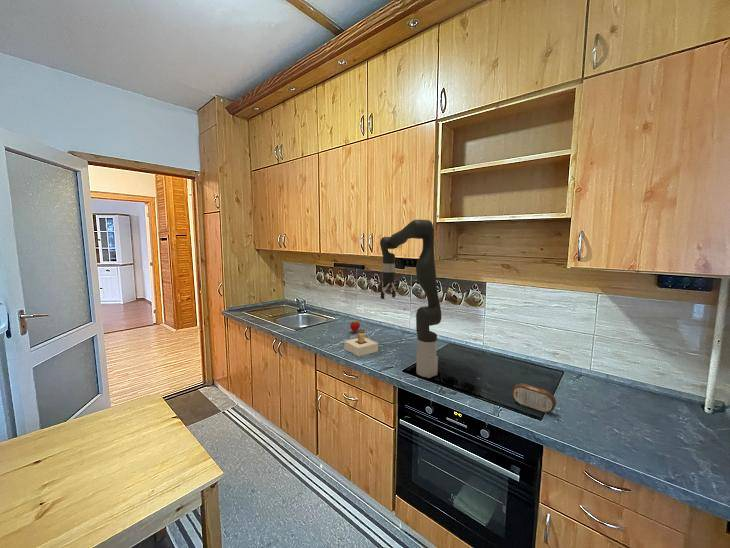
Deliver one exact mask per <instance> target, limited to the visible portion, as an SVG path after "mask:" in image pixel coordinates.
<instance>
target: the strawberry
mask: <svg viewBox="0 0 730 548" xmlns="http://www.w3.org/2000/svg"><path fill="white" fill-rule="evenodd" d="M349 326H350V329H351V331H352V332H353V333H357V332H358V330H360V328H361V327H360V326H361V323H360V322H359V321H358V320H352V321H351V323H350V324H349Z"/></svg>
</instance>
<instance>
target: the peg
mask: <svg viewBox="0 0 730 548" xmlns="http://www.w3.org/2000/svg"><path fill="white" fill-rule="evenodd" d="M365 333H366V331H365V329H363V328H362V329H360V328H359V329H358V330H357V338H358V344H364V343H365V336H366V335H365Z"/></svg>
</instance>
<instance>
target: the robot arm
mask: <svg viewBox="0 0 730 548" xmlns="http://www.w3.org/2000/svg"><path fill="white" fill-rule="evenodd" d="M434 233H435V231H434V225H433V222H432V221H431V220H430V219H413V220H411V221H410V222H409V223H408V224H407V225H406V226H404V227H403V228H402V229H401V230H399V231H397V232H395V233H393V234H391V236H383V237H381V239H380V241H379V245H380V249H381V254H382V269H381V271H382V272H381V273H382V277H381V278H382V281H378V283H377V292H378V293H380V299H381V300H384V299H385V292H386V290H387V289H391V298H392V299H393V298H394V299H395V298H396V292H397V291H399V280H397V279H396V256H395V253H392V252H390V251H389V250H395V248H396V249H398V248H399V247H400V246H401V245H403V244H406V243H407V242H408V240H409V239H416V240H417V239H418V240H419V239H420V240H422V250H421V253H420V255H419V257H418V259H417V260H416V261H417V262H416V265H415V273H416V274H415V275H416V280H417V283H418V284H419V286H420V287H421V289H422V290H423V291H424V294H425V296H426V299H427V306H421V307H418V309H417V310H416V312H415V323H416V324H415V325H416V326H415V327H416V328H415V330H416V331H415V332H416V336H417V339H416V341H417V342H416V345H417V347H416V375H418V376H420V377H423V378H427V379H430V378H432V377H436V376H438V365H439V356H438V355H437V346H438V343H437V342H438V335H437V333H436V332H434V331H431V330H430V326H431V327H432V326H435V325H436V326H437V325H439V324H440V323H441V321H442V310H441V309H442V308H441V304H440V300H439V299H440V298H439V292H438V283H437V271H436V270H437V269H436V263H435V249H434V242H435V241H434V239H435V237H434V236H435V234H434Z"/></svg>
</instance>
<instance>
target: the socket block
mask: <svg viewBox="0 0 730 548" xmlns="http://www.w3.org/2000/svg"><path fill="white" fill-rule="evenodd" d="M344 350H345V351H347V352H348V353H350V352H351V353H350V354H352V353H353V354H352V355H354V356H356V357H358V358H359V357H362V356H367V355H370V354H372V353H373V354H374V353H377V352H379V342H377V341H375V340H371V339H370V338H368V337H365V343H364V344H358V337H357V338H353V339H352V338H351V339H348V340H344Z"/></svg>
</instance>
